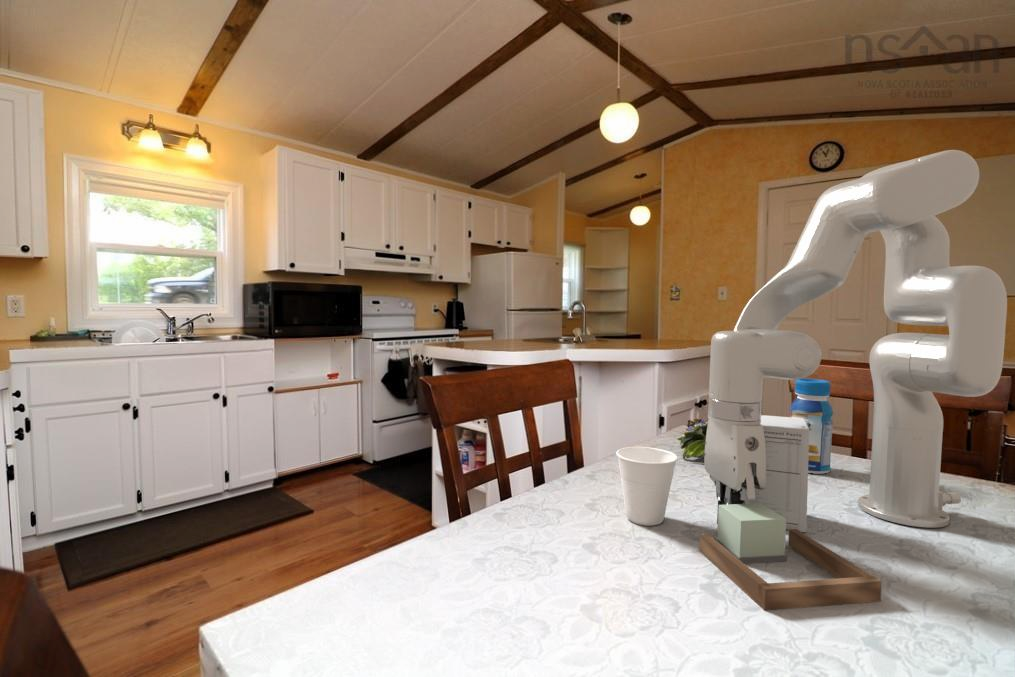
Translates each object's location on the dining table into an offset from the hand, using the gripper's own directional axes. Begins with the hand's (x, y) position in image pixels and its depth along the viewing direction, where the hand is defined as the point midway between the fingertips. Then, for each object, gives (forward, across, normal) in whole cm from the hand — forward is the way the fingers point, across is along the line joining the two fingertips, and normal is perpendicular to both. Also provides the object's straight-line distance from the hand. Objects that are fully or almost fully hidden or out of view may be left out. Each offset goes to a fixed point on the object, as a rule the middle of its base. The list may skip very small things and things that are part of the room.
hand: (729, 526), depth 80 cm
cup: (+2, +7, +11) cm, 13 cm away
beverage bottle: (+1, +30, -37) cm, 47 cm away
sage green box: (+1, -6, 0) cm, 6 cm away
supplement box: (+2, +6, -11) cm, 13 cm away
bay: (+1, -12, 0) cm, 12 cm away
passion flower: (+1, +40, -18) cm, 44 cm away
